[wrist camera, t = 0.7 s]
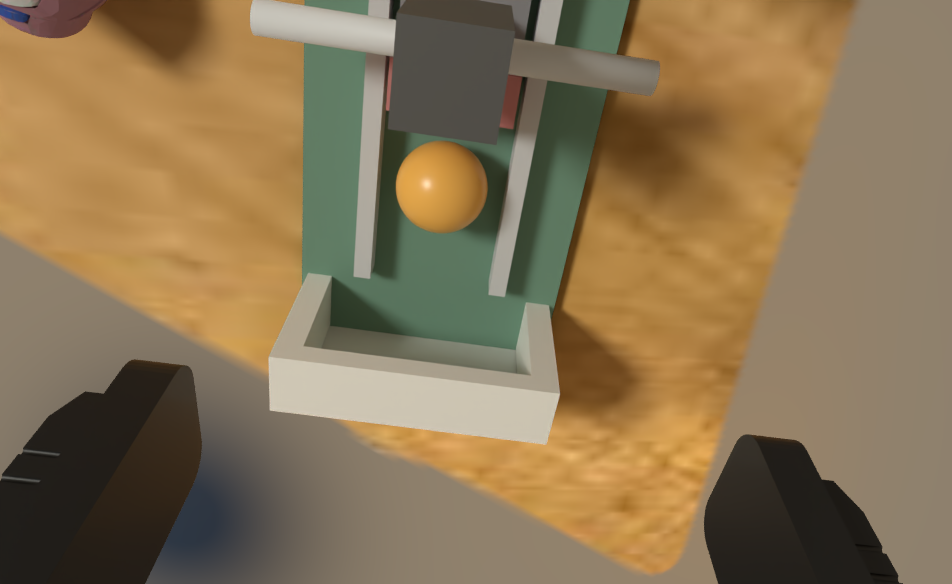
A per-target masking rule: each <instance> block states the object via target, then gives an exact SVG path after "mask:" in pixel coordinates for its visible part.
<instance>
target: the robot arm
mask: <svg viewBox="0 0 952 584" xmlns="http://www.w3.org/2000/svg"><path fill="white" fill-rule="evenodd" d="M201 449H202V441H201V432H200V424H199V417H198V409H197V402H196V393H195V385H194V378H193V373H192V370H191V369H190V368H189V367H188V366H185V365H176V364H169V363H160V362H152V361H143V360H131V361H129V362H128V363H127V364H126V365H125V366H124V367H123V368H122V369H121V371H120V372H119V374H118V375H117V376H116V378H115V379H114V380H113V382H112V383H111V384H110V386H109V387H108V389H107V390H106V391H105V393H104V394H101V393H92V392H84V393H82V394H81V395H79V396H78V397H76V398H75V399H73V400H72V401H71V402H69V403H68V404H66V405H65V406H63V407H62V408H60V409H59V410H57V411H56V412H54V413H53V414H52V415H50V416H48V418H47V419H46V420H45V421H44V422H43V424H42V425H41V426H40V428H39V429H38V430H37V431H36V433H35V434H34V435H33V437H32V438H31V439H30V440H29V441H28V443H27V444H26V445H25V446H24V448H23V453H22V454H18V455H17V456H16V458H15V459H14V460H13V461H12V463H11V464H10V465H9V466H8V468H7V469H6V470H5V471H4V473H3V474H2V479H1V481H0V584H145V583H146V581H147V578H148V576H149V575H150V572H151V570H152V568H153V566H154V564H155V562H156V560H157V558H158V556H159V554H160V552H161V550H162V548H163V546H164V544H165V542H166V539H167V537H168V535H169V533H170V531H171V529H172V527H173V525H174V523H175V521H176V519H177V517H178V515H179V513H180V511H181V508H182V506H183V504H184V502H185V500H186V498H187V496H188V494H189V492H190V490H191V488H192V486H193V483H194V481H195V478H196V475H197V472H198V468H199V464H200V459H201ZM704 532H705V539H706V544H707V548H708V551H709V554H710V558H711V561H712V564H713V568H714V571H715V574H716V578H717V581H718V584H903V583H899V582H898V574H897V572H896V571H895V569H894V567H893V565H892V563H891V561H890V560H889V558H888V556H887V554H883V553H882V545H881V543H880V542H879V540H878V538H877V536H876V534H875V532H874V531H873V529H872V527H871V525H870V523H869V521H868V520H867V518H866V516H865V514H864V512H863V511H862V510H861V509H860V508H859V507H858V506H857V505H856V504H855V503H854V502H853V501H852V500H851V499H850V498H849V497H848V496H847V495H846V494H845V493H844V492H843V491H842V490H841V489H840V487H838V485H837V484H836V483H834V481H829V480H822V479H821V477H820V475H819V473H818V472H817V470H816V468H815V466H814V464H813V462H812V460H811V458H810V456H809V454H808V452H807V450H806V449H805V447H804V446H803V445H802V444H801V443H800V442H798V441H796V440H789V439H781V438H772V437H764V436H756V435H743V436H741V437H740V438H739V439H738V441H737V443H736V444H735V446H734V448H733V450H732V452H731V454H730V456H729V458H728V460H727V463H726V465H725V467H724V469H723V471H722V473H721V475H720V477H719V479H718V481H717V483H716V485H715V487H714V489H713V491H712V494H711V495H710V497H709V500H708V502H707V505H706V510H705V517H704Z"/></svg>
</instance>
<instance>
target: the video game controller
mask: <svg viewBox="0 0 952 584" xmlns="http://www.w3.org/2000/svg"><path fill="white" fill-rule="evenodd" d="M106 1H107V0H0V17H1V18H2V19H3V20H5V21H6V22H7V23H8V24H10V25H11V26H13V27H15V28H17V29H19V30H21V31H24V32H26V33H29V34H32V35H35V36H39V37H46V38H63V37H68V36H71V35H74V34H76V33H78V32H79V31H81V30H82V29H83V28H84V27H86V26H87V24H88V22H89V21H90V19H91V16H92V12H93V11H94V10H96V9H97V8H99V7H100V6H102V5H103V4H104V3H105V2H106Z"/></svg>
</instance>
